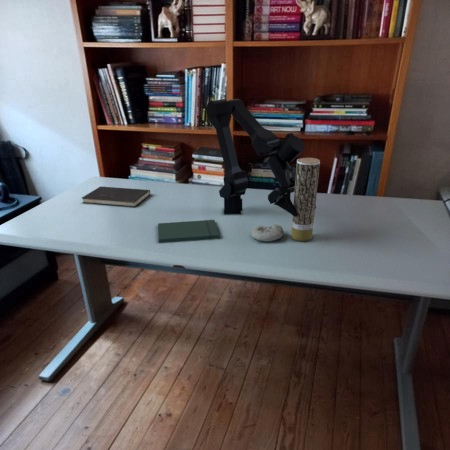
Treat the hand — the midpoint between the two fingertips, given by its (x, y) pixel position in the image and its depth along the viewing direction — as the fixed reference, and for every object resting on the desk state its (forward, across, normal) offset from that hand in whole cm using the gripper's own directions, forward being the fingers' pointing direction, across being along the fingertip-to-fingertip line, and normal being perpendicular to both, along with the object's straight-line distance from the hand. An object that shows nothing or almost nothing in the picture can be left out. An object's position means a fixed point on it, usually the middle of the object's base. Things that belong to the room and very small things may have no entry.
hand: (305, 212), depth 133 cm
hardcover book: (-49, -24, +62) cm, 83 cm away
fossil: (0, -8, +12) cm, 15 cm away
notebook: (-15, -25, +28) cm, 40 cm away
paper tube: (+6, 0, +7) cm, 9 cm away
